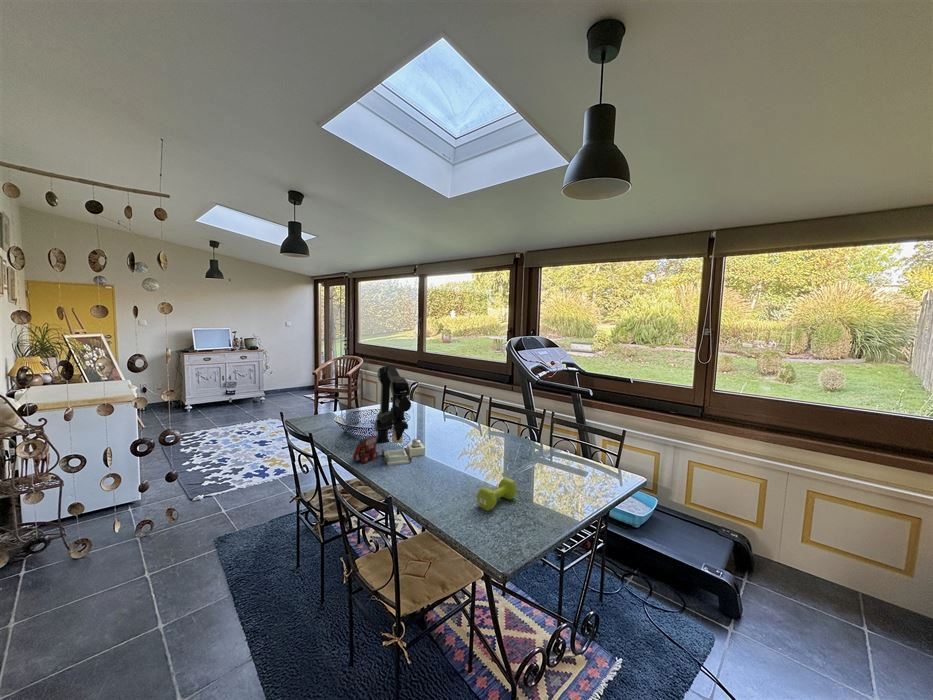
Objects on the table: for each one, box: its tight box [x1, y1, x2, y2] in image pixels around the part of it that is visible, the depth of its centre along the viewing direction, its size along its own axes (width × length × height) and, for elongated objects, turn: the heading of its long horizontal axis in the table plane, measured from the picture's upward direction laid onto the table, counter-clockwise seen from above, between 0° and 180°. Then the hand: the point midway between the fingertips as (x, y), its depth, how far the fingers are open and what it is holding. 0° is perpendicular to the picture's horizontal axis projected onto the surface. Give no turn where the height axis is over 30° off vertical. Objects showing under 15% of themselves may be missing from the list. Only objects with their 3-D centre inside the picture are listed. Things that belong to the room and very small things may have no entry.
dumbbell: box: [476, 477, 518, 512], centre depth 131 cm, size 16×8×7 cm, turn 135°
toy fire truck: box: [352, 435, 379, 464], centre depth 164 cm, size 7×12×10 cm, turn 147°
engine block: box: [391, 428, 403, 444], centre depth 166 cm, size 4×4×7 cm
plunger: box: [411, 438, 421, 448], centre depth 176 cm, size 4×4×4 cm
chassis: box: [381, 447, 413, 466], centre depth 168 cm, size 14×12×3 cm
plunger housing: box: [406, 442, 426, 457], centre depth 176 cm, size 7×7×4 cm
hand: (397, 438), depth 166 cm, fingers closed on engine block, 4 cm apart
